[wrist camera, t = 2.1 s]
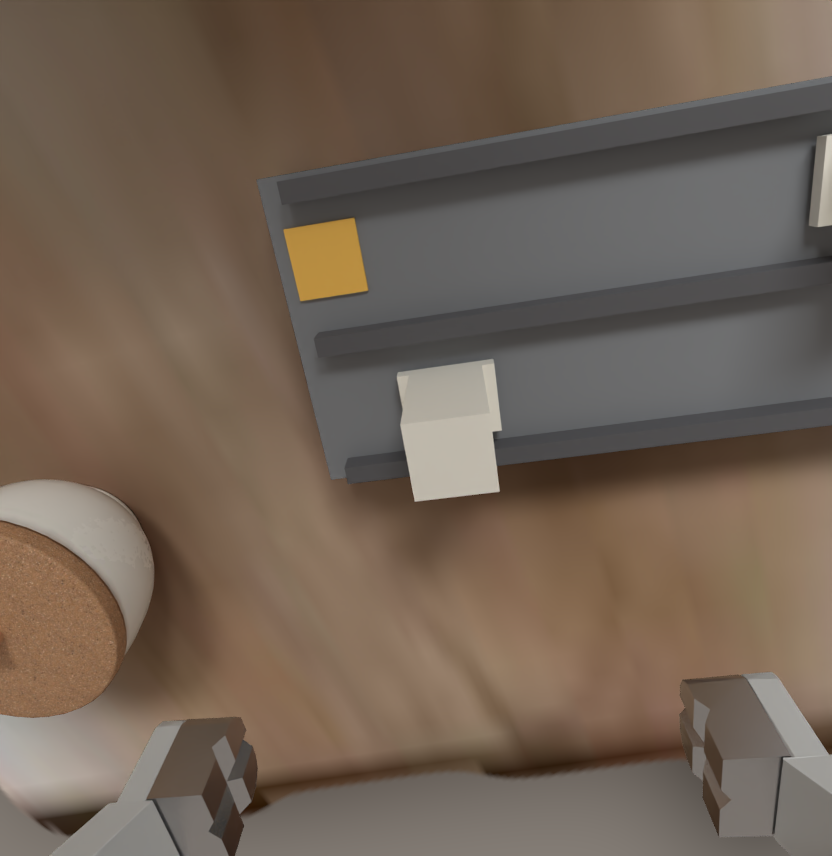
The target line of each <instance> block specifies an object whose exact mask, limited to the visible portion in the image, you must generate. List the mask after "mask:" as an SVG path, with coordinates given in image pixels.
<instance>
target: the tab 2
mask: <svg viewBox="0 0 832 856" xmlns="http://www.w3.org/2000/svg"><path fill="white" fill-rule="evenodd" d="M829 225H832V134H828V135H822V136H817V143H816V153H815V164H814V174H813V185H812V195H811V205H810V216H809V226H814V227H823V226H829Z"/></svg>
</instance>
